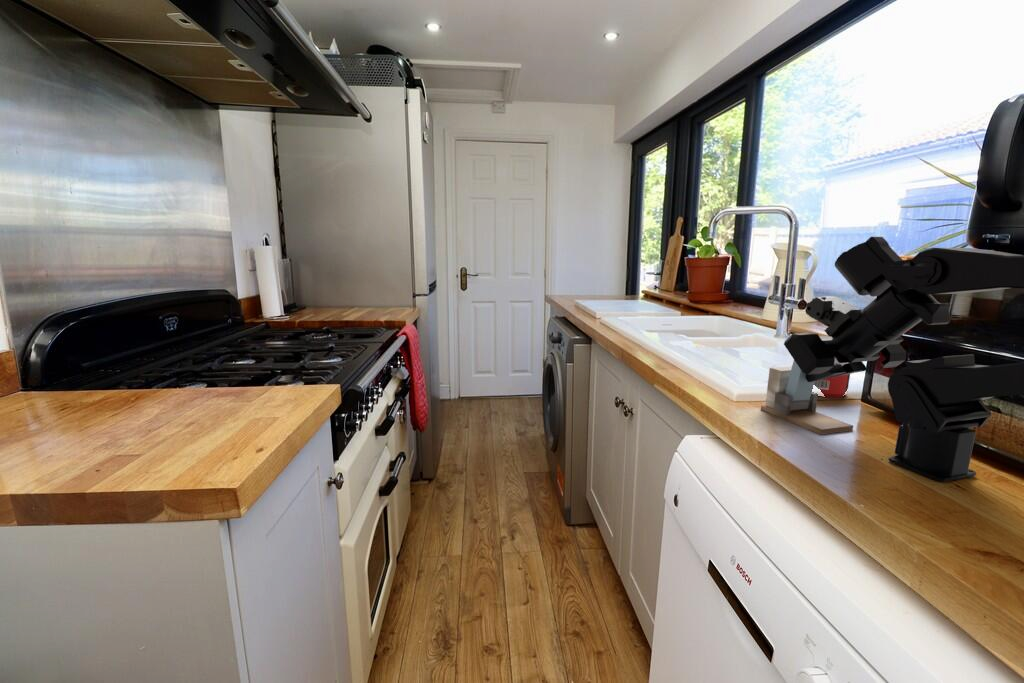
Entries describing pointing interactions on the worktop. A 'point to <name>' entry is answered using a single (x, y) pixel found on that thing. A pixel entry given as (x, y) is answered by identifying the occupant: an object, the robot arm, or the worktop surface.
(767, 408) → the wooden base block holder
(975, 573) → the worktop surface
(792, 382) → the leg
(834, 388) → the canned food
